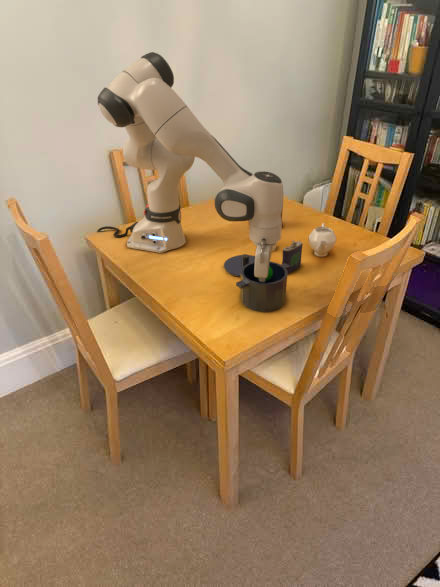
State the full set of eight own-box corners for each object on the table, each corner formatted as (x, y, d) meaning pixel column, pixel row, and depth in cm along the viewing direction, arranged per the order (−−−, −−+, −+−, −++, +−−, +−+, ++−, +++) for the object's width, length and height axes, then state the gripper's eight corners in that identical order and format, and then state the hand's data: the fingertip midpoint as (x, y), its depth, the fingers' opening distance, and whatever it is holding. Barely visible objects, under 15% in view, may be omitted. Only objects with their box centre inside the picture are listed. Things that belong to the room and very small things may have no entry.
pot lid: (215, 265, 146) (215, 254, 144) (248, 253, 153) (248, 242, 151) (241, 283, 136) (241, 271, 134) (275, 269, 143) (275, 257, 141)
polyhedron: (262, 285, 122) (263, 271, 119) (252, 278, 125) (252, 264, 122) (275, 280, 124) (276, 266, 121) (264, 273, 127) (265, 259, 125)
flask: (296, 263, 146) (298, 235, 140) (303, 266, 145) (306, 238, 139) (279, 273, 141) (281, 244, 135) (286, 276, 139) (288, 247, 133)
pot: (224, 299, 129) (224, 272, 123) (271, 279, 138) (273, 254, 132) (252, 320, 119) (253, 292, 114) (301, 298, 128) (304, 271, 123)
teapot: (334, 242, 159) (337, 219, 154) (334, 268, 143) (337, 243, 138) (308, 240, 161) (310, 217, 156) (305, 265, 145) (308, 241, 140)
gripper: (274, 250, 107) (271, 295, 115) (278, 218, 124) (276, 259, 131) (249, 248, 108) (248, 293, 116) (257, 217, 125) (256, 258, 132)
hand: (263, 274), depth 124 cm, fingers closed on polyhedron, 5 cm apart
